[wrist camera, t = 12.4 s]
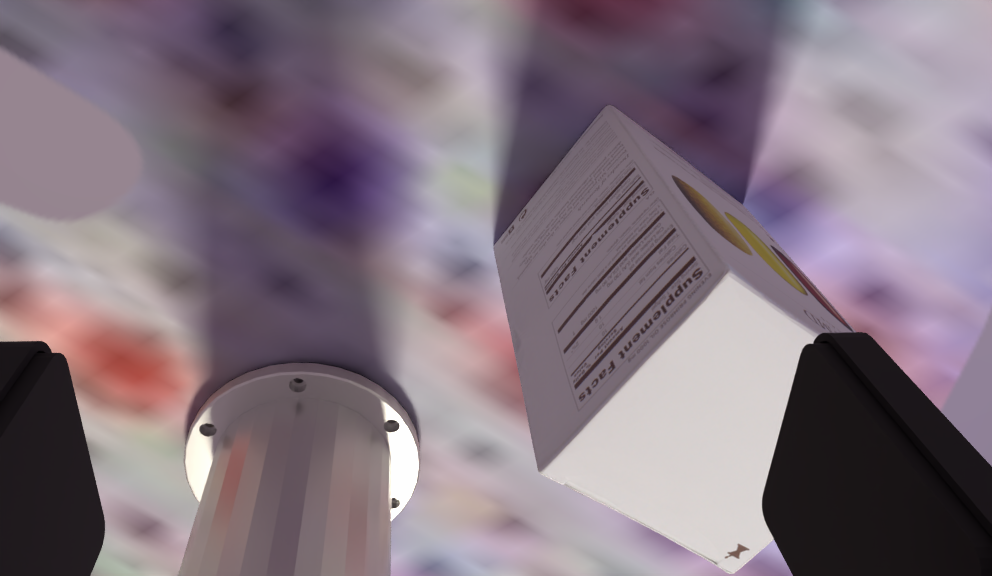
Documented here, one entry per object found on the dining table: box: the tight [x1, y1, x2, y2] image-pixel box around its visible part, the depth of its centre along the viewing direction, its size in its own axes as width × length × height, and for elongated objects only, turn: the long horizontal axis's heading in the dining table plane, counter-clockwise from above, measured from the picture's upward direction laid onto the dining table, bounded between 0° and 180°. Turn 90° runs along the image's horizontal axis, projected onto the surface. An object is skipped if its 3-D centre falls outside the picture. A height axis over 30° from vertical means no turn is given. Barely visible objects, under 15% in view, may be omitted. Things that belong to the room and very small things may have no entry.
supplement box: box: [494, 105, 856, 574], centre depth 34 cm, size 10×9×17 cm
